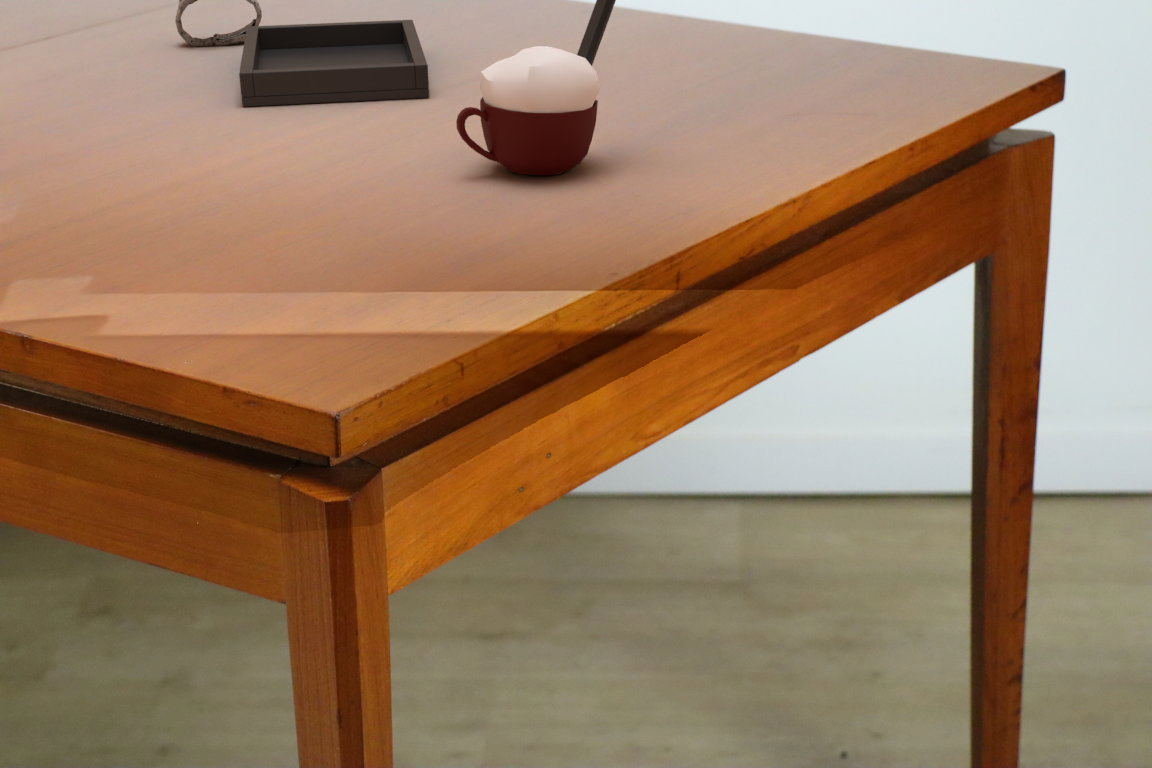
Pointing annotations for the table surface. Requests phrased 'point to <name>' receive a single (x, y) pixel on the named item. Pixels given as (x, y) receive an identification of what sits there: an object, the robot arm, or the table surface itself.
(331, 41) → the dark rectangular tray
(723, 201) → the table surface
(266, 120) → the table surface
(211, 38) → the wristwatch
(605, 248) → the table surface
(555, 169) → the cocoa
